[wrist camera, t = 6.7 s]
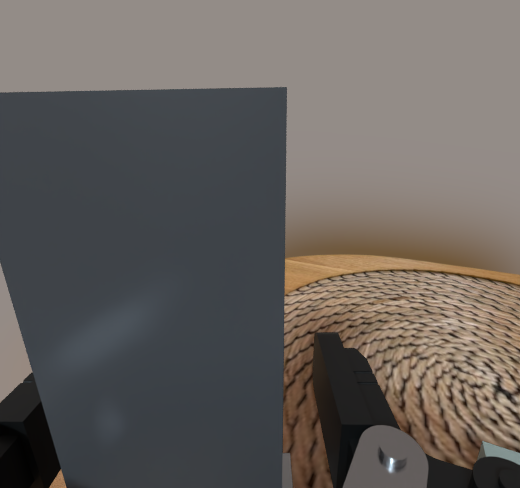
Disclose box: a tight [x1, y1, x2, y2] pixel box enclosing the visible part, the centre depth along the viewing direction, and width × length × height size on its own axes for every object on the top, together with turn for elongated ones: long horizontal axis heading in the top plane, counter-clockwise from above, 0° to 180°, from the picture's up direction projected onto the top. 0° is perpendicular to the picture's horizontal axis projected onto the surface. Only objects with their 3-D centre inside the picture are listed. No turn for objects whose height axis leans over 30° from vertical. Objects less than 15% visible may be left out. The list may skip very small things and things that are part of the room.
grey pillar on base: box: [0, 87, 293, 488], centre depth 9 cm, size 9×6×16 cm, turn 179°
